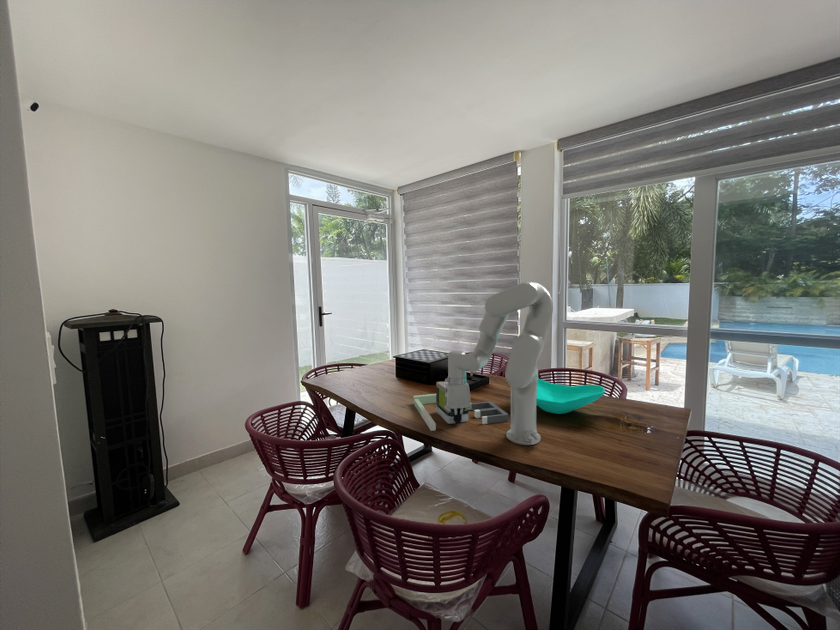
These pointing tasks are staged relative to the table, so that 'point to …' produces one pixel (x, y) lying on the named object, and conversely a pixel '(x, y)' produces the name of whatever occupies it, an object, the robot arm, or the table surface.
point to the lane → (432, 399)
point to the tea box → (441, 405)
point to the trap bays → (491, 412)
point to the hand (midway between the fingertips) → (457, 422)
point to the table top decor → (565, 396)
